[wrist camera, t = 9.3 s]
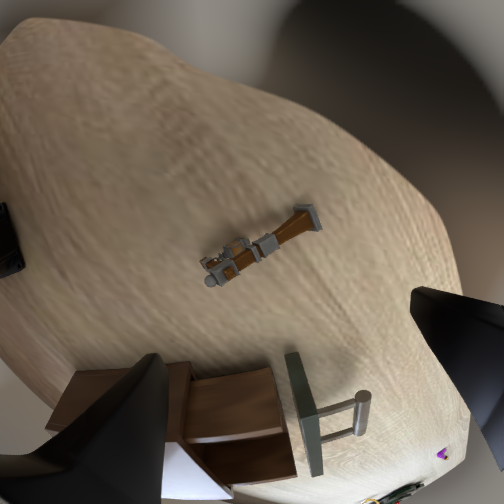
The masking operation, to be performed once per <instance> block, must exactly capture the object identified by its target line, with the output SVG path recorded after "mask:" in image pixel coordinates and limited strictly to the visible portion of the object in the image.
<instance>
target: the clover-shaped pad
mask: <svg viewBox="0 0 504 504" xmlns="http://www.w3.org/2000/svg"><path fill="white" fill-rule="evenodd" d="M423 487H424V483H423V484H419V485H417V486H415V485H413V486H409V487H407V488H405V489H403V490H399V491H397V492H395V493H393V494H392V495H390V496H388V497H386V498H384V499H382V500H381V501H379V503H380V504H399V503H400V502H402V501H404V500H406V499H407V498H409V497H410V496H412V495H413V494H414V493H416V492H417V491H419V490H420V489H422V488H423Z"/></svg>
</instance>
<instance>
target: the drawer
mask: <svg viewBox="0 0 504 504" xmlns="http://www.w3.org/2000/svg"><path fill="white" fill-rule="evenodd" d="M285 361H286V365H287V370H288V375H289V379H290V384H291V389H292V393H293V398H294V403H295V407H296V412H297V417H298V421H299V426H300V431H301V435H302V439H303V443H304V447H305V452H306V456H307V460H308V464H309V468H310V473H311V477H316V476H320V475H323V460H322V448H321V444H323V443H326V442H330V441H333V440H336V439H340V438H343V437H346V436H349V435H352V434H354V435H355V436H362V435H363V434H365V432H366V429H367V423H368V417H369V411H370V404H371V396H372V395H371V393H370V392H369V391H367V390H360V391H358V392H357V393H356V394H355V399H354V398H352V399H350V400H346V401H343V402H340V403H337V404H334V405H331V406H327V407H324V408H320V409H317V408H316V405H315V402H314V399H313V396H312V393H311V389H310V386H309V383H308V380H307V377H306V374H305V371H304V368H303V364H302V361H301V358H300V355H299V352H295V353H291V354H287V355H285ZM353 407H354V415H353V427H351V428H348V429H345V430H342V431H338V432H335V433H332V434H329V435H325V436H320V426H319V418H321V417H325V416H328V415H332V414H335V413H338V412H341V411H344V410H347V409H350V408H353ZM182 439H183V440H184V441H185V442H186V444H187V445H188V446H189V447H190V448H191V449H192V451H193V452H194V453H195V454H196V455H197V456H198V457H199V458H200V460H201V461H202V462H203V463H204V464H205V465H206V466H207V467H208V468H209V469H210V470H211V471H212V472H213V473H214V474H215V475H216V476H217V477H218V478H219V479H220V480H221V481H222V482H223V483H224V484H225V485H226V486H227V487H231V486H243V485H252V484H260V483H267V482H274V481H280V480H285V479H290V478H295V477H297V471H296V466H295V461H294V456H293V451H292V446H291V441H290V437H289V432H288V428H287V424H286V421H285V417H284V414H283V410H282V406H281V403H280V399H279V395H278V392H277V388H276V385H275V381H274V377H273V374H272V370H271V367H269V368H264V369H259V370H254V371H249V372H244V373H239V374H233V375H228V376H222V377H215V378H209V379H202V380H194V381H190V386H189V392H188V399H187V407H186V414H185V421H184V429H183V437H182Z"/></svg>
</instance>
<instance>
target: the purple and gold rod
mask: <svg viewBox="0 0 504 504" xmlns="http://www.w3.org/2000/svg"><path fill="white" fill-rule="evenodd" d="M445 451H446V449H444V450H443V451H442V452H439V453H438V454H437V457H439V458H442V459H444V460H448V459H449V458H448V457H447V456H444V454H443V453H444V452H445Z"/></svg>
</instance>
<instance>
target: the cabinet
mask: <svg viewBox="0 0 504 504" xmlns="http://www.w3.org/2000/svg"><path fill="white" fill-rule="evenodd" d="M165 366H166V368H167V369H168V372H169V413H168V423H167V432H166V442H165V452H164V464H163V478H162V494H161V498H173V499H196V500H199V499H202V500H204V499H205V500H210V499H233V498H234V497H233V486H231V487H227V486H226V485H225V484H224V483H223V482H222V481H221V480H220V479H219V478H218V477H217V476H216V475H215V474H214V473H213V472H212V471H211V470H210V469H209V468H208V467H207V466H206V465H205V464H204V463H203V462H202V461H201V460H200V458H199V457H198V456H197V455H196V454H195V453H194V452H193V451H192V449H191V448H190V447H189V446H188V445H187V444H186V442H185V441H184V440H183V439H182V437H183V429H184V421H185V414H186V407H187V399H188V392H189V386H190V381H194V380H199V379H198V378H197V376H196V374H195V372H194V370H193V368H192V366H191V364H190V362H189V361H188V362H181V363H174V364H166V365H165ZM130 369H131V368H127V369H113V370H96V371H76V372H75V373H74V375H73V377H72V379H71V380H70V382H69V384H68V386H67V387H66V389H65V391H64V393H63V395H62V396H61V398H60V400H59V402H58V404H57V406H56V408H55V409H54V411H53V413H52V415H51V417H50V419H49V421H48V423H47V425H46V427H45V430H46V431H47V432H48V433H49V434H50V435H51V436H52V437H54V436H55V435H57V434H58V433H59V432H60V431H62V430H63V429H64V428H65V427H67V426H68V425H69V424H70V423H71V422H73V421H74V420H75V419H76V418H77V417H78V416H79V415H80V414H81V413H83V412H84V411H85V410H86V409H87V408H88V407H89V406H90V405H91V404H93V403H94V402H95V401H96V400H97V399H98V398H99V397H100V396H101V395H102V394H104V393H105V392H106V391H107V390H108V389H109V388H110V387H111V386H112V385H113V384H115V383H116V382H117V381H118V380H119V379H120V378H121V377H122V376H123V375H124V374H125V373H127V372H128V371H129V370H130Z"/></svg>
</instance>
